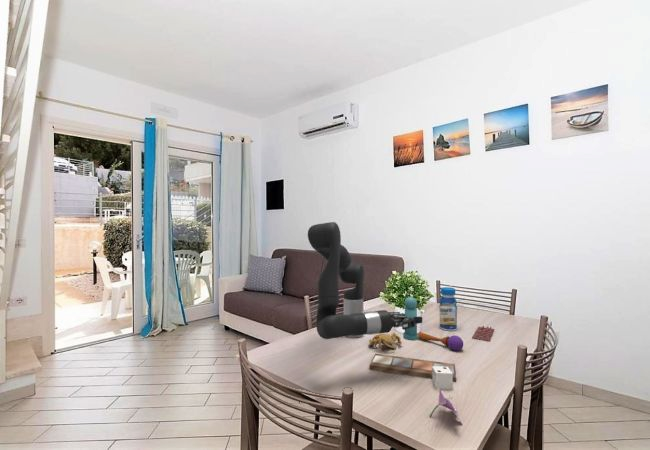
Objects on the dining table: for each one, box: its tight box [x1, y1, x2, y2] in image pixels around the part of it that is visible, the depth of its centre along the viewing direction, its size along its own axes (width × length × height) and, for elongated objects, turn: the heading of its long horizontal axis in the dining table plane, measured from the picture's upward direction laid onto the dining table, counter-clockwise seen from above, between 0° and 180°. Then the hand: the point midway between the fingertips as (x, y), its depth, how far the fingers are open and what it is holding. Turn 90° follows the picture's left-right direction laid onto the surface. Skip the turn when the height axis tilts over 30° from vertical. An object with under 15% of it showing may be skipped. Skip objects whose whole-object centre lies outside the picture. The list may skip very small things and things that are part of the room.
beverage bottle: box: [438, 286, 458, 332], centre depth 159 cm, size 8×8×20 cm
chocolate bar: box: [471, 325, 495, 343], centre depth 151 cm, size 7×19×2 cm, turn 146°
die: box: [431, 366, 454, 390], centre depth 102 cm, size 5×5×5 cm
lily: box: [429, 373, 462, 423], centre depth 85 cm, size 12×12×10 cm
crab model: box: [368, 332, 403, 351], centre depth 136 cm, size 16×13×6 cm
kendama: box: [417, 331, 464, 352], centre depth 137 cm, size 6×6×20 cm
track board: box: [368, 353, 457, 383], centre depth 114 cm, size 29×11×2 cm, turn 70°
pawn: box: [402, 296, 419, 341], centre depth 114 cm, size 5×5×14 cm
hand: (417, 317), depth 115 cm, fingers closed on pawn, 4 cm apart
